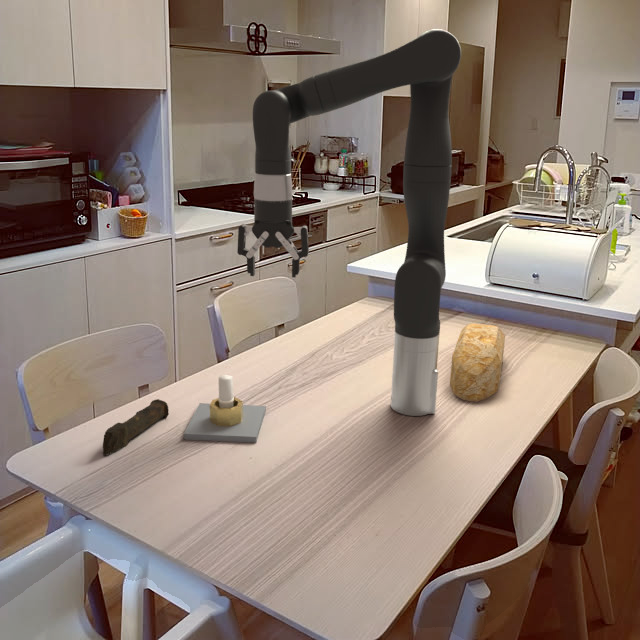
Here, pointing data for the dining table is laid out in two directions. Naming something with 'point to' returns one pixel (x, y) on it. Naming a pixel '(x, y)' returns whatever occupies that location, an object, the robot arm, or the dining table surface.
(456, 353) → the bread
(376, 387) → the dining table surface
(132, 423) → the hand tool
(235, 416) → the ring
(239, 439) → the post base
